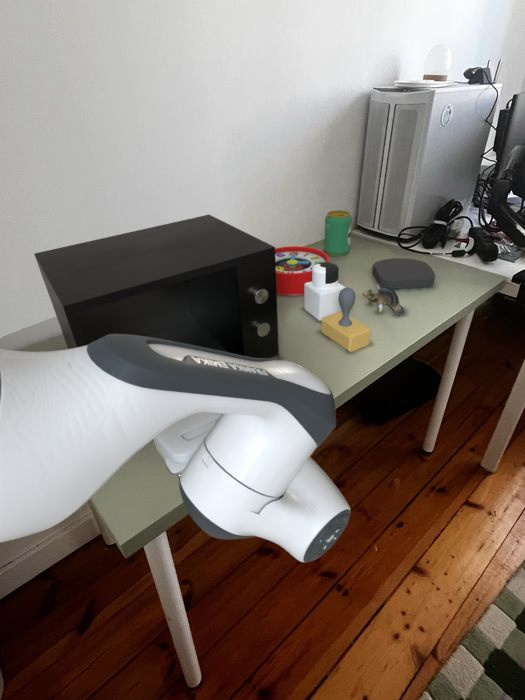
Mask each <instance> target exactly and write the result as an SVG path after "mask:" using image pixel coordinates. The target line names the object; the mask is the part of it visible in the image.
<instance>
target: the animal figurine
mask: <svg viewBox="0 0 525 700" xmlns="http://www.w3.org/2000/svg"><path fill="white" fill-rule="evenodd" d="M375 287H376V288H377V293H374V291H373V290H372V289H371V288H369V290H367V291H366V293H364V292H362V296H363V297H365V298H366V299H367V300H368V304H369V305H370V306H372V304H374V303H377V306H378V314H381V312H382V311H383V308H384V307H383V306H384V305H387V306H389V307H390V308H391V309H392V310H393V311H394V312H395V315H397V316H399V315H400V316H404V315H405V312H406V311H405V309H404V307H403V306H402V305H401V304H400V301H399V300H400V298H399V296H398V293H397V292H396V291H395V289H394V288H389V287H385V286H381V287H379V285H378V284H375Z"/></svg>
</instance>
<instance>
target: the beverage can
mask: <svg viewBox="0 0 525 700" xmlns="http://www.w3.org/2000/svg"><path fill="white" fill-rule="evenodd" d="M352 222H353V217H352V215H351V212H350V211H347V210H340V209H337V210H331V211H328V212H327V213H326V216H325V218H324V244H323V246H324V248H323V249H324V251H325V254H327V255H328V256H333V257H342V256H345V255H348V253H349V251H350V250H351V241H352V224H353V223H352Z"/></svg>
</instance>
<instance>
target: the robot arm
mask: <svg viewBox="0 0 525 700" xmlns="http://www.w3.org/2000/svg"><path fill="white" fill-rule="evenodd" d="M336 428H337V410H336V403H335V398H334V393H333V391H332V390H331V388H330V387H328V386H327V385H326V383H325V382H324V381H323V380H322V378H320V377H319V376H317V375H316V374H315V373H314V372H312V371H311V370H309V369H308V368H306V367H305V366H303V365H301V364H298V363H296V362H293V361H289V360H284V359H281V358H279V359H278V358H253V357H248V356H242V355H238V354H233V353H228V352H224V351H219V350H214V349H210V348H205V347H200V346H195V345H190V344H186V343H180V342H175V341H170V340H165V339H159V338H153V337H147V336H139V335H130V334H109V335H106V336H104V337H102V338H100V339H98V340H96V341H94V342H92V343H90V344H89V345H86V346H81V347H77V348H72V349H68V348H66V349H59V350H47V351H24V350H11V349H6V348H0V544H1V543H6V542H10V541H14V540H18V539H23V538H25V537H28V536H32V535H35V534H39V533H42V532H45V531H47V530H48V529H51V528H53V527H55V526H56V525H58V524H60V523H62V522H63V521H65V520H66V519H68V518H69V517H70V516H71V515H73V514H74V513H76V512H77V511H78V510H79V509H81V508H82V507H83V506H84V505H85V504H87V503H88V502H89V501H90V500H91V499H92V498H93V497H94V496H95V495H96V494H97V493H98V492H99V491H100V490H101V489H102V488H103V487H104V486H105V485H106V483H108V482H109V481H110V480H111V478H113V477H114V476H115V475H116V474H117V472H119V470H121V469H122V468H123V467H124V466H125V465H126V464H127V463H128V462H129V461H130V460H132V458H133V457H134V456H136V455H137V454H138V453H139V452H140V451H141V450H142V449H144V447H146V445H148V444H150V442H152V441H153V443H154V446H155V449H156V450H157V452H158V453H159V455H160V456H161V458H163V460H164V467H166V469H167V471H168V472H169V474H170V475H171V476H172V477H176V478H177V477H178V486H179V493H180V496H181V499H182V502H183V504H184V506H185V509H186V510H187V512H188V514H189V516H190V517H191V519H192V520H193V521H194V523H195V524H196V525H197V526H198V527H199V529H201V530H202V531H203V532H204V533H206V534H207V535H208V536H210V537H212V538H214V539H219V540H223V541H224V540H225V541H227V540H241V539H249V538H251V539H252V538H256V537H257V538H262V539H264V540H267V541H269V542H272V543H274V544H276V545H278V546H280V547H281V548H282V549H284V550H285V551H286V552H287V553H289V554H290V555H291V557H293V558H294V559H295V560H297V561H298V562H301V563H310V562H314V561H315V560H318V559H319V558H321V557H322V556H324V555H325V554H326V552H328V551H329V549H331V548H332V547H333V546H334V544H336V542H337V541H338V540H339V538H340V537H341V535H342V534H343V532H344V531H345V530H346V528H347V526H348V525H349V521H350V517H351V513H352V512H351V507H350V504H349V503H348V501H347V499H346V498H345V496H344V495H343V494H342V492H341V491H340V489H339V488H338V487H337V485H336V484H335V483H334V481H333V480H332V479H331V478H330V476H329V475H328V474H327V473H326V472H325V471H324V469H323V468H321V466H320V465H319V464H318V463H317V462H316V460H314V458H312V455H313V454H314V452H315V451H316V450H317V448H319V447H320V446H321V445H322V444H323V443H324V442H325V440H326V439H327V438H328V437H329V436H330V434H331V433H332V432H333V431H334V430H335V429H336Z"/></svg>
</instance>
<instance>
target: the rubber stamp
mask: <svg viewBox="0 0 525 700" xmlns="http://www.w3.org/2000/svg"><path fill="white" fill-rule="evenodd" d="M355 302H356V293H355V290H354V289H353V288H351V287H346V288H344V289H342V290H341V291H340V293H339V304H340V307H341V310H342V312H338V313H335V314H332V315H329V316H327V317H324V318H322V321H320V323H321V325H320V330H321V331H320V332H321V333H322V334H323V335H325V336H327V337H328V338H329V339H330V340H332V341H334V342H335V343H336V344H338V345H339V346H341V347H342V348H344V349H345V350H347V351H348V352H350V353H352V352H355V351H357V350H359V349H362V348H364V347H366V346H369V345H370V341H371V331H372V330H371V328H369V327H367V326H366V325H365V324H363V323H361V322H359V321H358V320H356V319H354V318H352V317H351V316H350V313H351V311H352V309H353V306H354V305H355Z"/></svg>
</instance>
